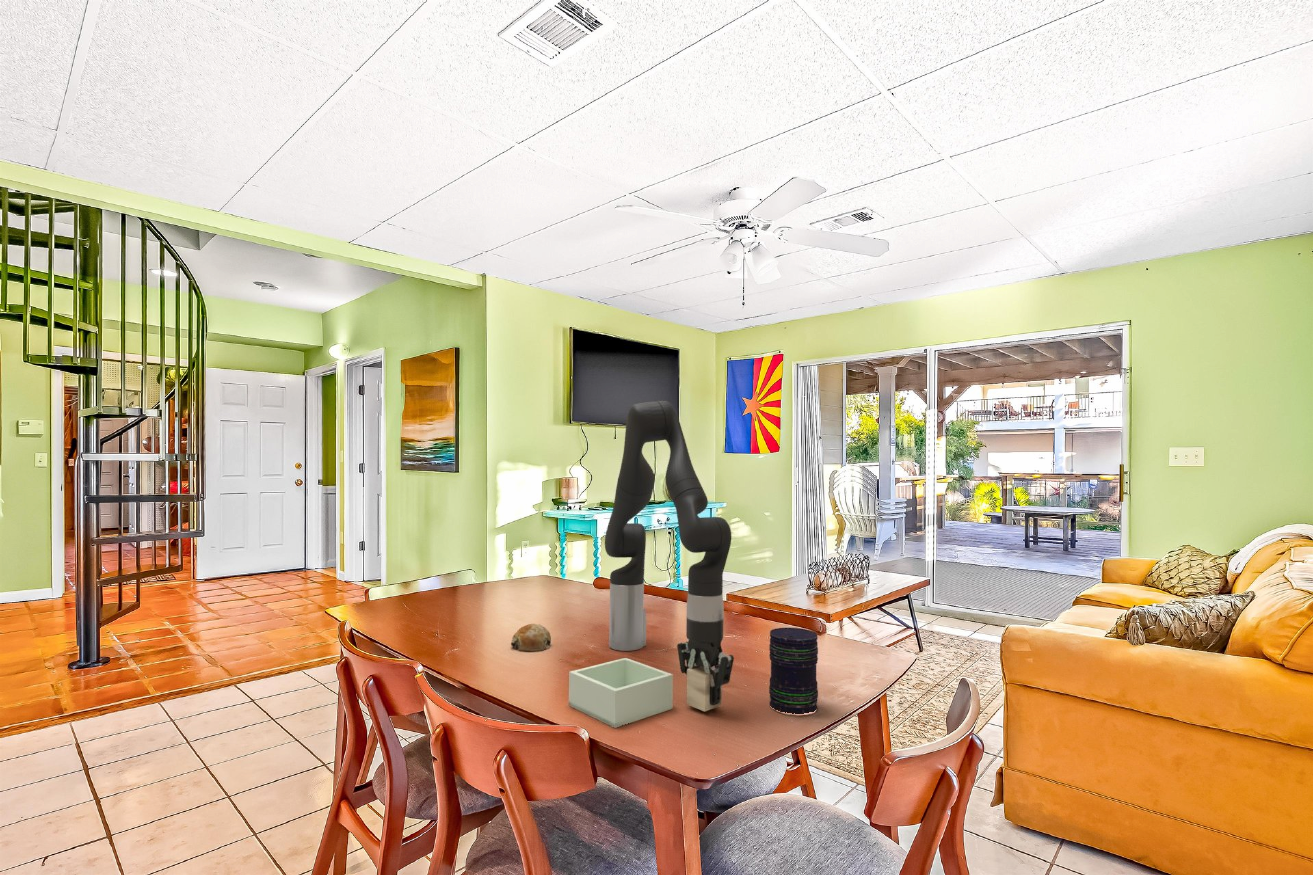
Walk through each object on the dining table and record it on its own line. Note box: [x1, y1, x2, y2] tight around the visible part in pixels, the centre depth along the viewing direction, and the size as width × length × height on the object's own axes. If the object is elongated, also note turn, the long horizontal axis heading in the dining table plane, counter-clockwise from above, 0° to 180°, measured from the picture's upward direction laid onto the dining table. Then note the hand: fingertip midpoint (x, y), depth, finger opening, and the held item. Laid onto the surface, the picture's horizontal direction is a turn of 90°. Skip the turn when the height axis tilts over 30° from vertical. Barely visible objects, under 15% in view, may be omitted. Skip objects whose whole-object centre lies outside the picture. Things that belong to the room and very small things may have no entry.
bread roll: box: [510, 623, 552, 653], centre depth 174 cm, size 10×10×8 cm
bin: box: [568, 657, 674, 729], centre depth 132 cm, size 15×15×7 cm
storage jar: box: [768, 627, 819, 714], centre depth 133 cm, size 10×10×15 cm
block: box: [686, 666, 723, 713], centre depth 131 cm, size 5×5×7 cm
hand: (704, 699), depth 131 cm, fingers closed on block, 5 cm apart
